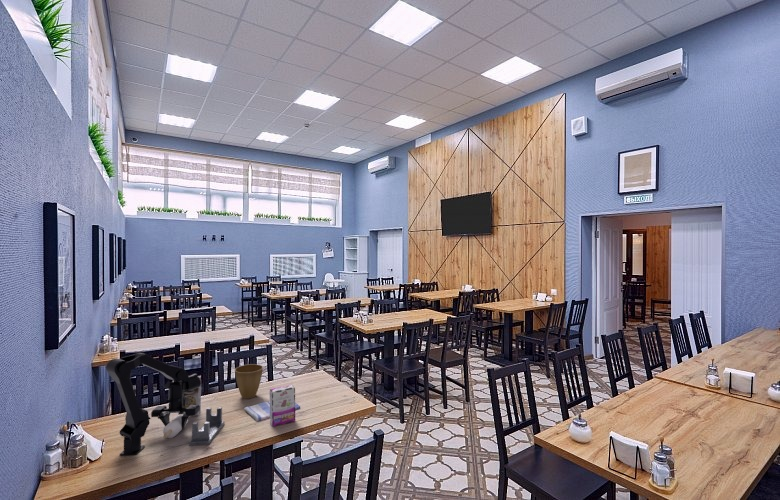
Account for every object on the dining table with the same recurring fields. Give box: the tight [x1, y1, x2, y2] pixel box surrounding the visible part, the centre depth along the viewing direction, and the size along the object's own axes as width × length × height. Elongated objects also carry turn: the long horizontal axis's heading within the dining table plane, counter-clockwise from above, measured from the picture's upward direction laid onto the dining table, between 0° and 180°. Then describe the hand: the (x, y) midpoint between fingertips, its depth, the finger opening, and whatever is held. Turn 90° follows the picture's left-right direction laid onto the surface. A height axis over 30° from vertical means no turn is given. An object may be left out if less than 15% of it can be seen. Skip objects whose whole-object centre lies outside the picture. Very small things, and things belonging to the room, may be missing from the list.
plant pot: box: [234, 363, 264, 400], centre depth 209 cm, size 15×15×16 cm
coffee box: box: [177, 379, 202, 418], centre depth 186 cm, size 9×6×16 cm
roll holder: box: [188, 406, 225, 447], centre depth 166 cm, size 19×8×8 cm, turn 5°
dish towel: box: [244, 400, 301, 422], centre depth 192 cm, size 17×24×3 cm
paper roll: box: [162, 414, 189, 439], centre depth 167 cm, size 18×6×6 cm, turn 5°
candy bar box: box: [269, 384, 296, 427], centre depth 178 cm, size 11×5×16 cm, turn 123°
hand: (175, 429), depth 167 cm, fingers closed on paper roll, 6 cm apart
